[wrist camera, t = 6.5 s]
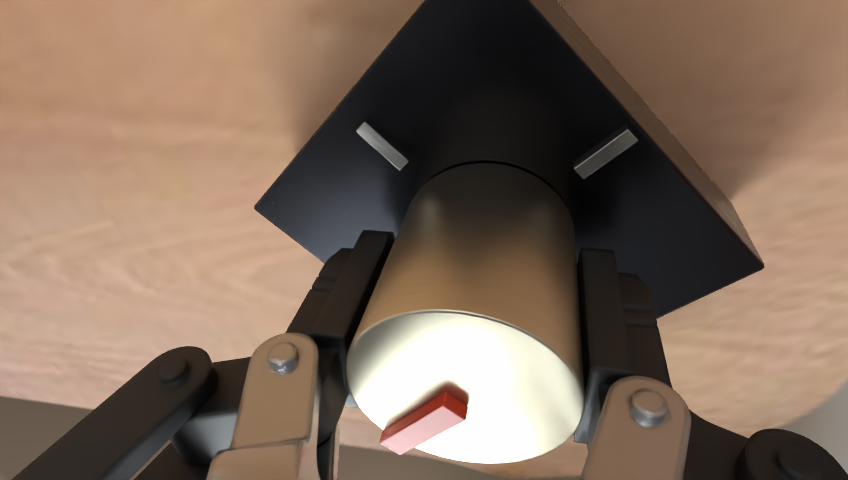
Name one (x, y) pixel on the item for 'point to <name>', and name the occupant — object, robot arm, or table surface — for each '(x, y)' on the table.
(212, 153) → the table surface
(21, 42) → the table surface
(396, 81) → the dial panel
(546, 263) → the dial
